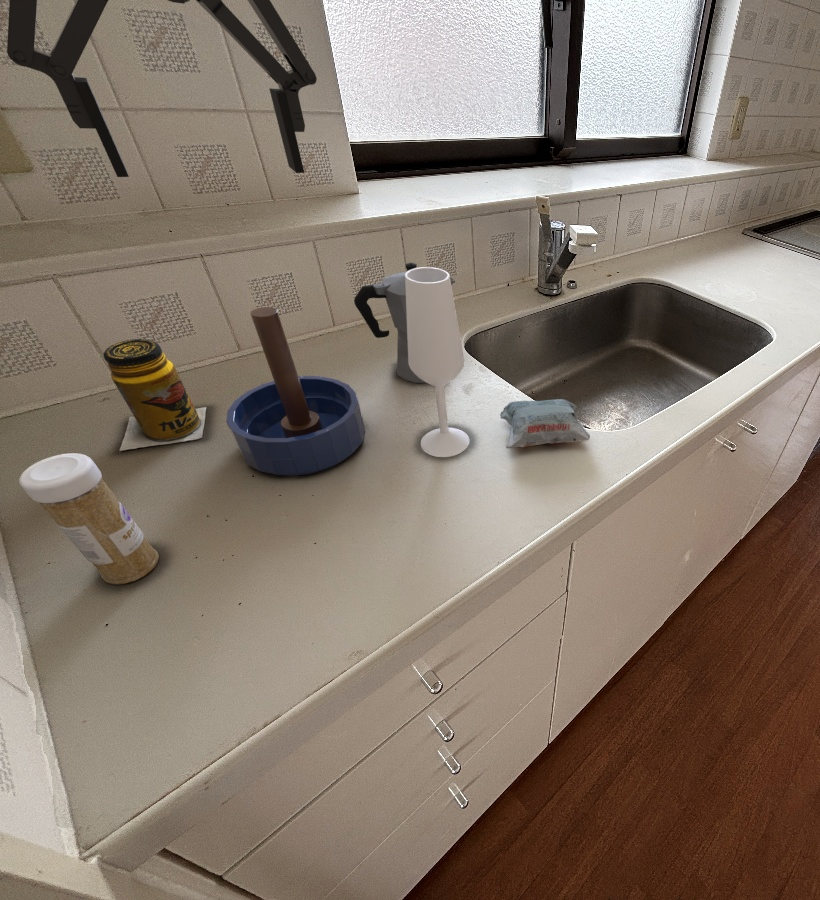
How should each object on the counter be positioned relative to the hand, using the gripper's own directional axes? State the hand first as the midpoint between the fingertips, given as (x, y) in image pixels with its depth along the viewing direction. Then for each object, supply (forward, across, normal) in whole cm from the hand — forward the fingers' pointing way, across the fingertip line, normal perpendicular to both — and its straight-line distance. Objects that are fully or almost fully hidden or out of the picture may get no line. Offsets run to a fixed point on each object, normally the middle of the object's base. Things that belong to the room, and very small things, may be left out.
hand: (216, 171), depth 46 cm
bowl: (+33, 0, 0) cm, 33 cm away
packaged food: (+33, +28, -15) cm, 46 cm away
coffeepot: (+33, +20, +10) cm, 40 cm away
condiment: (+33, -14, +12) cm, 38 cm away
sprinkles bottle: (+33, -19, -12) cm, 40 cm away
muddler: (+32, 0, 0) cm, 32 cm away
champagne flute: (+33, +16, -9) cm, 38 cm away
